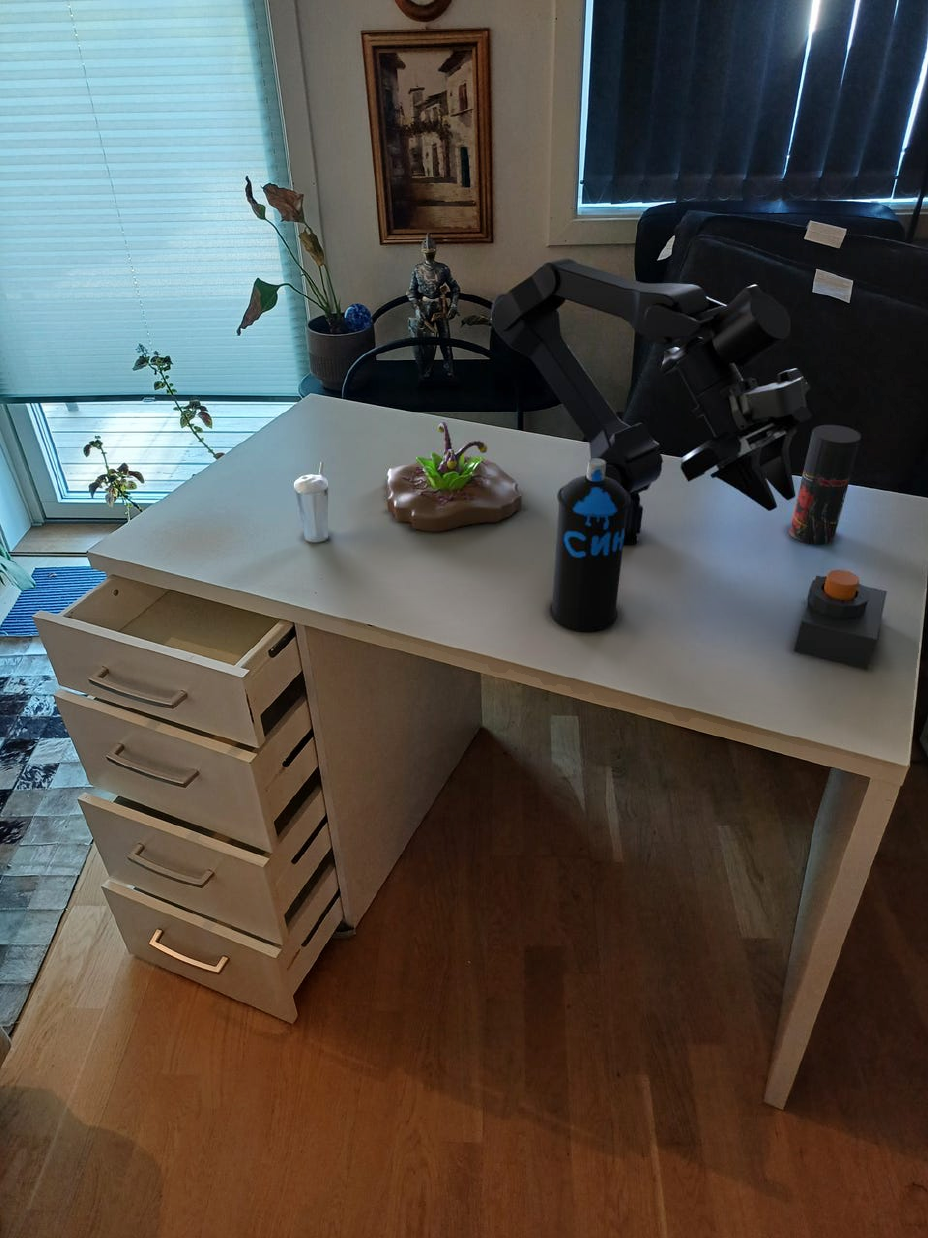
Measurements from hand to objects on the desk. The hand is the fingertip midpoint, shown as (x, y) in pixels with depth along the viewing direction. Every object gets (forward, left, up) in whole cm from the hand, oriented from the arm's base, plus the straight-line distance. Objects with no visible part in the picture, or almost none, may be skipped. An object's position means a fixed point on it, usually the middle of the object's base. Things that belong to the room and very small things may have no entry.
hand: (782, 503), depth 104 cm
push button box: (+7, -7, -14) cm, 17 cm away
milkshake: (-57, +16, -14) cm, 61 cm away
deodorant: (+12, +17, -14) cm, 25 cm away
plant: (-39, +28, -14) cm, 50 cm away
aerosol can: (-22, -3, -14) cm, 26 cm away
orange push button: (+6, -7, -8) cm, 12 cm away
